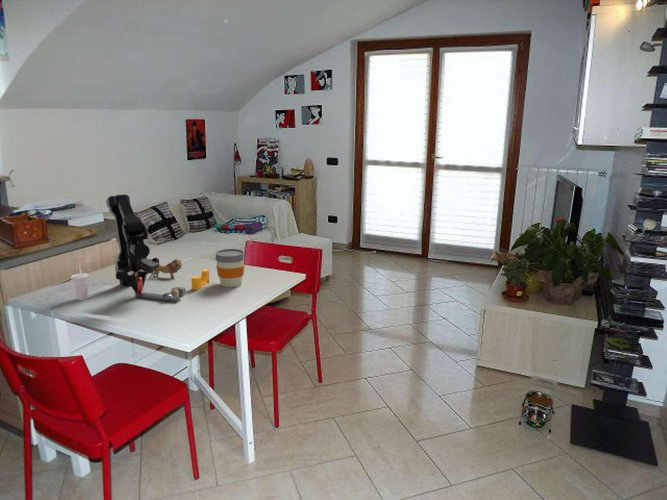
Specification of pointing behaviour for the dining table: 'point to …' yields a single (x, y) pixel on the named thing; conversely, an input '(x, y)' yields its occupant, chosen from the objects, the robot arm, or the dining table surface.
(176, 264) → the lion figurine
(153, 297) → the lever
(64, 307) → the dining table surface
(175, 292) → the tan rounded piece
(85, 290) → the smoothie
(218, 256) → the reusable coffee cup
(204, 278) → the pipe clamp
